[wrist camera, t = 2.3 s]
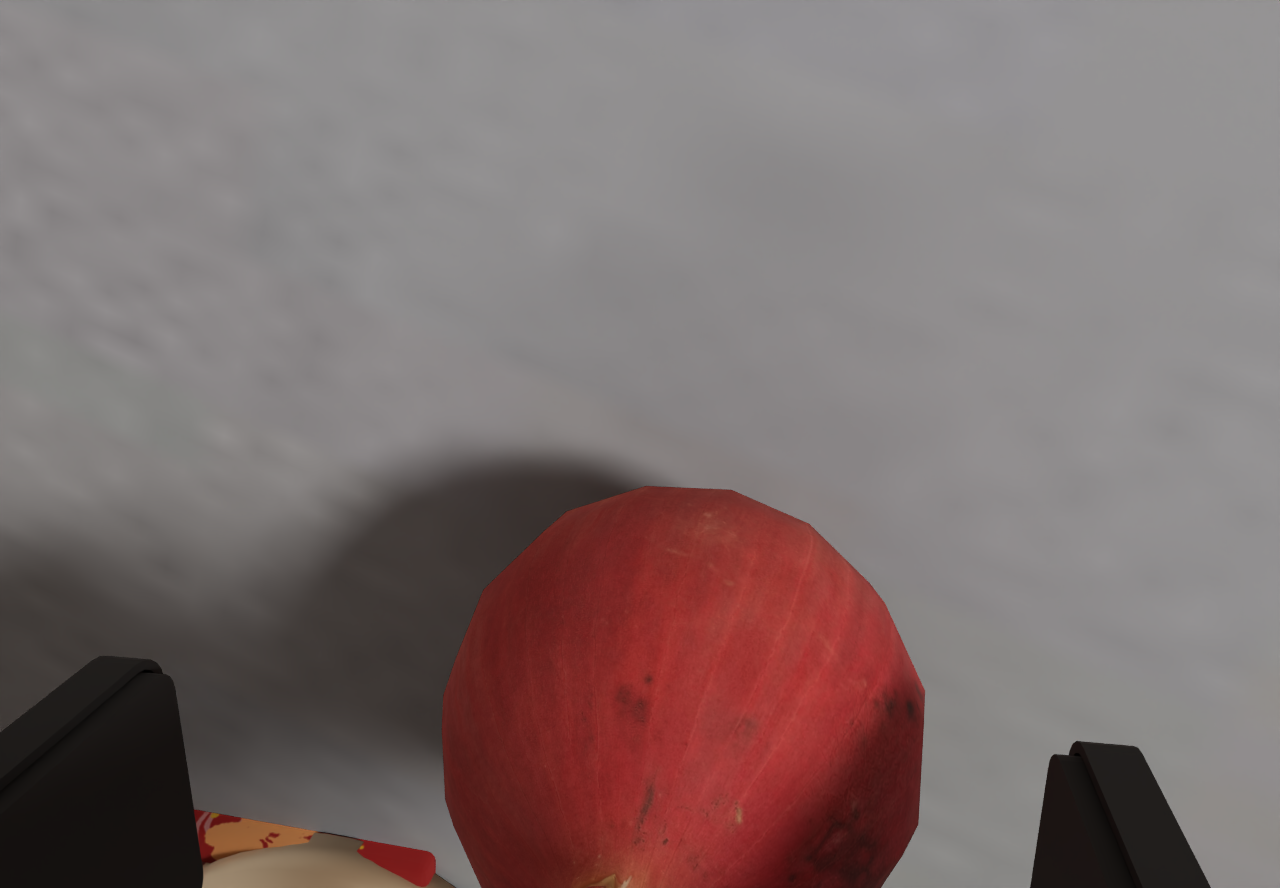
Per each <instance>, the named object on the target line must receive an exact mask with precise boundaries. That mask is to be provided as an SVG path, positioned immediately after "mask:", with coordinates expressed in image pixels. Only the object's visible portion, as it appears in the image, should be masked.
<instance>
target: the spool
mask: <svg viewBox="0 0 1280 888" xmlns="http://www.w3.org/2000/svg"><path fill="white" fill-rule="evenodd" d="M363 843H364V842H363V841H359V840H356V839H352V838H347V837H341V836H336V835H331V834H322V833H314V834H313V836H312V837H311V839H310V841H309V842H307V843H302V844H292V845H287V846H282V847H272V848H263V849H257V850H251V851H246V852H240V853H237V854H234V855H231V856H228V857H225V858H222V859H219V860H217V861H215V862H213V863H205V864H204V865H203V877H204V878H203V885H202V888H455V887H454V886H452V885H451V884H449V883H448V882H446V881H445V880H443V879H442V878H441V877H439V876H438V875H436V874H435V873H434V875H433V877H432V879H431V881H430V883H429V885H427V886H426V887H419V886H416V885H414V884H413V883H411V882H409V881H407V880H406V879H404V878H402V877H400V876H398V875H396V874H394V873H392V872H390V871H388V870H386V869H384V868H382V867H380V866H378V865H377V864H376V863H374V862H373V861H371V860H369V859H366V858H364V857H363V856H361V855H360V854H359V853H358V852H357V850H358V849H359V848H360V846H361V845H362V844H363Z"/></svg>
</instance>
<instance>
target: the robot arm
mask: <svg viewBox="0 0 1280 888" xmlns="http://www.w3.org/2000/svg"><path fill="white" fill-rule="evenodd" d="M203 878H204V877H203V866H202V859H201V853H200V846H199V840H198V833H197V827H196V820H195V814H194V807H193V801H192V794H191V788H190V781H189V775H188V768H187V762H186V755H185V749H184V742H183V736H182V729H181V723H180V717H179V710H178V704H177V697H176V691H175V686H174V683H173V680H172V679H171V678H170V676H168V675H166V674H163V673H162V669H161V668H160V666H159V665H158V664H157V663H156V662H154V661H152V660H148V659H137V658H125V657H114V656H100V657H98V658H96V659H94V660H92V661H91V662H90V663H88V664H87V665H86V666H85V667H83V668H82V669H81V670H80V671H78V672H77V673H76V674H74V675H73V676H72V677H71V678H69V679H68V680H67V681H65V682H64V683H63V684H62V685H60V686H59V687H58V688H57V689H55V690H54V691H53V692H51V693H50V694H49V695H48V696H46V697H45V698H44V699H43V700H41V701H40V702H39V703H37V704H36V705H35V706H34V707H32V708H31V709H30V710H28V711H27V712H26V713H25V714H23V715H22V716H21V717H20V718H18V719H17V720H16V721H14V722H13V723H12V724H11V725H9V726H8V727H7V728H6V729H4V730H3V731H2V732H0V888H202V885H203ZM1030 888H1211V887H1210V885H1209V883H1208V881H1207V879H1206V877H1205V875H1204V873H1203V871H1202V869H1201V868H1200V866H1199V864H1198V862H1197V860H1196V858H1195V856H1194V854H1193V852H1192V850H1191V848H1190V846H1189V844H1188V842H1187V840H1186V838H1185V836H1184V834H1183V832H1182V830H1181V828H1180V826H1179V825H1178V823H1177V821H1176V819H1175V817H1174V815H1173V813H1172V811H1171V809H1170V807H1169V805H1168V803H1167V801H1166V799H1165V797H1164V795H1163V793H1162V791H1161V789H1160V787H1159V785H1158V783H1157V782H1156V780H1155V778H1154V776H1153V774H1152V772H1151V770H1150V768H1149V766H1148V764H1147V762H1146V760H1145V758H1144V756H1143V754H1142V753H1141V751H1140V750H1139V749H1138V748H1137V747H1134V746H1126V745H1115V744H1104V743H1092V742H1081V741H1076V742H1075V743H1073V745H1072V747H1071V749H1070V752H1069V755H1058V754H1054V755H1053V756H1052V757H1051V759H1050V762H1049V767H1048V773H1047V780H1046V786H1045V793H1044V800H1043V806H1042V813H1041V820H1040V827H1039V833H1038V840H1037V847H1036V853H1035V860H1034V867H1033V873H1032V880H1031V887H1030Z"/></svg>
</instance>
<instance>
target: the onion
mask: <svg viewBox="0 0 1280 888" xmlns="http://www.w3.org/2000/svg"><path fill="white" fill-rule="evenodd" d="M924 703H925V690H924V688H923V686H922V684H921V681H920V679H919V677H918V675H917V673H916V670H915V668H914V666H913V664H912V662H911V659H910V657H909V655H908V653H907V651H906V648H905V646H904V644H903V642H902V640H901V637H900V635H899V633H898V631H897V629H896V626H895V624H894V622H893V620H892V618H891V616H890V613H889V611H888V609H887V607H886V605H885V603H884V602H883V600H882V599H881V598H880V596H879V595H878V594H877V592H876V591H875V590H874V588H873V587H872V586H871V584H870V583H869V582H868V581H867V580H866V579H865V578H864V577H863V576H862V575H861V574H860V573H859V572H858V571H857V570H856V569H855V568H854V567H853V566H852V565H851V564H850V563H849V562H848V561H847V560H845V559H844V558H843V557H842V556H841V555H840V554H839V553H838V552H837V551H836V550H835V549H834V548H833V547H832V546H831V545H830V544H829V543H828V542H827V541H826V540H825V539H824V538H823V537H822V536H821V535H820V534H819V533H818V532H817V531H816V530H815V529H814V528H813V527H812V526H811V525H810V524H808V523H806V522H803V521H801V520H799V519H797V518H794V517H792V516H790V515H787V514H785V513H783V512H781V511H778V510H776V509H774V508H772V507H769V506H767V505H765V504H762V503H760V502H758V501H756V500H753V499H751V498H749V497H746V496H744V495H742V494H740V493H737V492H735V491H733V490H722V489H699V488H677V487H654V486H644V487H641V488H638V489H635V490H632V491H629V492H626V493H622V494H619V495H616V496H613V497H610V498H607V499H604V500H600V501H597V502H594V503H591V504H588V505H585V506H582V507H579V508H575V509H572V510H569V511H567V512H565V513H564V514H563V515H562V516H561V517H560V518H559V519H557V520H556V521H555V522H554V523H553V524H552V525H551V526H549V527H548V528H547V529H546V530H545V531H544V532H543V533H542V534H541V535H540V536H539V537H538V538H537V539H535V540H534V541H533V542H532V543H531V544H530V545H529V546H528V547H527V548H526V549H525V550H524V551H523V552H522V553H521V554H520V555H519V556H518V557H517V558H516V559H515V560H514V561H513V562H512V563H510V564H509V565H508V566H507V567H506V568H505V569H504V570H503V571H502V572H501V573H500V574H499V575H498V576H497V577H496V578H495V579H494V580H493V581H492V582H491V583H490V584H489V585H488V586H487V587H486V588H485V589H484V590H483V592H482V594H481V597H480V599H479V602H478V604H477V607H476V609H475V612H474V614H473V617H472V619H471V622H470V624H469V627H468V629H467V632H466V634H465V637H464V639H463V642H462V644H461V647H460V649H459V652H458V654H457V657H456V659H455V662H454V665H453V668H452V671H451V674H450V677H449V680H448V683H447V686H446V689H445V692H444V695H443V715H442V743H443V763H444V783H445V800H446V803H447V807H448V810H449V813H450V816H451V819H452V822H453V826H454V828H455V830H456V832H457V835H458V837H459V839H460V841H461V843H462V846H463V848H464V850H465V852H466V855H467V857H468V859H469V861H470V863H471V866H472V868H473V870H474V872H475V875H476V877H477V879H478V881H479V883H480V886H481V888H881V887H882V885H883V884H884V882H885V881H886V879H887V878H888V876H889V875H890V873H891V872H892V870H893V869H894V867H895V866H896V864H897V863H898V861H899V860H900V858H901V857H902V855H903V853H904V851H905V849H906V848H907V846H908V844H909V842H910V840H911V838H912V836H913V834H914V832H915V830H916V828H917V826H918V819H919V801H920V783H921V765H922V747H923V729H924Z"/></svg>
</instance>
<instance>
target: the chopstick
mask: <svg viewBox="0 0 1280 888" xmlns="http://www.w3.org/2000/svg"><path fill="white" fill-rule="evenodd" d="M194 814H195V820H196V827H197V833H198V840H199V846H200V853H201V859H202V866H203V865H204V864H205V863H213V862H215V861H217V860H219V859H222V858H225V857H228V856H231V855H234V854H237V853H240V852H246V851H251V850H257V849H263V848H272V847H282V846H287V845H292V844H302V843H307V842H309V841H310V839H311V837H312V836H313V834H314V833H322V834H328V833H323V832H317V831H311V830H306V829H300V828H295V827H289V826H284V825H278V824H273V823H267V822H261V821H256V820H250V819H245V818H239V817H234V816H228V815H222V814H217V813H211V812H206V811H200V810H195V809H194ZM331 835H334V834H331ZM336 836H339V835H336ZM341 837H345V836H341ZM347 838H350V837H347ZM352 839H356V838H352ZM356 840H359V841H363V842H364V843H363V844H362V845H361V846H360V848H359V849H358V850H357V852H358V853H359V854H360V855H361V856H363V857H364V858H366V859H369V860H371V861H373V862H374V863H376V864H377V865H378V866H380V867H382V868H384V869H386V870H388V871H390V872H392V873H394V874H396V875H398V876H400V877H402V878H404V879H406V880H407V881H409V882H411V883H413V884H414V885H416V886H419V887H426V886H427V885H429V883H430V881H431V879H432V877H433V875H434V873H435V870H436V860H435V857H434V856H433V854H432V853H430V852H428V851H423V850H417V849H412V848H406V847H401V846H395V845H389V844H384V843H378V842H373V841H367V840H362V839H356Z"/></svg>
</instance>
